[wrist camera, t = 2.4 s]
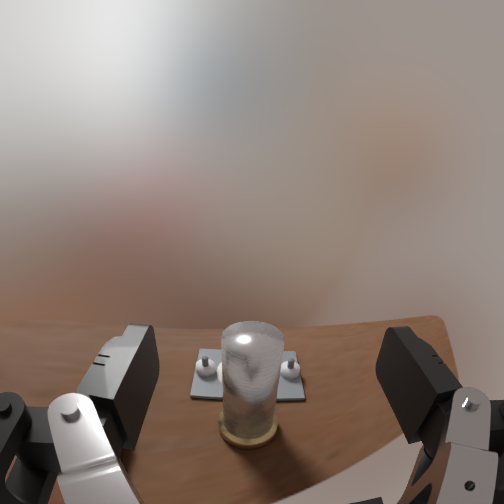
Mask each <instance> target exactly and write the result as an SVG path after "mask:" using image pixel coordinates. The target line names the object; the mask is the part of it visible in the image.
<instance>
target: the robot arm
mask: <svg viewBox="0 0 504 504" xmlns="http://www.w3.org/2000/svg"><path fill="white" fill-rule="evenodd" d="M158 376H159V358H158V352H157V346H156V340H155V334H154V329H153V327H152V326H151V325H141V324H129V326H128V327H127V329H126V330H125V332H124V334H123V335H122V337H117V336H115V337H114V338H113V339H111V340H110V341H108V342H107V343H106V344H104V346H103V348H102V349H101V351H100V352H99V354H98V356H97V357H96V359H95V360H94V362H93V364H92V365H91V366H90V368H89V370H88V371H87V373H86V375H85V376H84V378H83V379H82V381H81V383H80V384H79V386H78V388H77V389H76V391H75V393H69V394H65V395H62V396H60V397H58V398H56V399H55V400H54V401H53V402H52V403H51V404H50V406H49V407H27V406H26V405H25V403H24V401H23V399H22V398H21V397H20V396H19V395H18V394H16V393H13V392H4V393H1V394H0V504H48V501H49V498H50V495H51V492H52V489H53V486H54V484H55V481H56V478H57V479H58V483H59V487H60V490H61V493H62V496H63V498H64V501H65V504H144V502H143V500H142V499H141V497H140V495H139V493H138V492H137V490H136V488H135V487H134V485H133V483H132V481H131V479H130V477H129V476H128V474H127V472H126V470H125V468H124V466H123V464H122V462H121V460H120V458H119V456H120V453H121V451H122V448H124V449H129V450H134V449H135V446H136V443H137V440H138V437H139V434H140V430H141V427H142V424H143V421H144V418H145V415H146V412H147V409H148V406H149V403H150V400H151V397H152V394H153V391H154V389H155V386H156V383H157V380H158ZM376 376H377V379H378V381H379V383H380V385H381V387H382V389H383V391H384V393H385V395H386V397H387V399H388V401H389V403H390V405H391V407H392V409H393V411H394V413H395V416H396V418H397V420H398V422H399V424H400V426H401V428H402V431H403V433H404V435H405V437H406V439H407V441H408V444H411V443H415V442H419V441H422V443H423V446H422V448H421V449H420V451H419V454H418V457H417V460H416V463H415V466H414V469H413V472H412V474H411V477H410V479H409V482H408V484H407V487H406V490H405V491H404V494H403V495H402V497H401V499H400V500H399V501H398V503H397V504H504V400H489V399H488V397H487V396H486V395H485V394H484V393H483V392H481V391H480V390H478V389H475V388H471V387H464V388H463V387H462V385H461V384H460V383H459V381H458V380H457V379H456V377H455V376H454V375H453V373H452V372H451V371H450V369H449V368H448V367H447V366H446V364H443V360H442V359H441V358H440V357H439V356H438V354H437V353H436V351H435V350H434V349H433V348H432V346H431V345H429V344H428V343H426V342H425V341H423V340H422V339H420V338H418V337H417V336H416V335H415V333H414V332H413V331H412V330H411V328H410V327H408V326H402V327H390V328H388V329H387V330H386V332H385V335H384V339H383V342H382V346H381V349H380V352H379V355H378V359H377V362H376ZM15 455H16V456H17V459H16V461H15V463H14V465H13V467H12V470H11V472H10V474H9V476H8V479H7V481H6V483H5V476H6V473H7V471H8V469H9V467H10V465H11V463H12V460H13V458H14V456H15ZM58 473H60V474H58ZM350 504H383V501H382V498H381V497H378V498H375V499H370V500H366V501H361V502H356V503H350Z"/></svg>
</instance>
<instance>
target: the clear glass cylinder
mask: <svg viewBox="0 0 504 504" xmlns="http://www.w3.org/2000/svg"><path fill="white" fill-rule="evenodd" d="M283 347H284V336H283V334H282V332H281V331H280V330H279V329H278V328H276V327H274V326H273V325H270V324H268V323H264V322H259V321H243V322H238V323H235V324H232V325H231V326H229V327H227V328H226V329H225V330H224V331H223V333H222V390H223V410H222V411H221V413H220V415H219V419H218V423H219V432H220V435H221V436H222V438H223V439H224V440H225V441H226V442H227V443H228V444H230V445H232V446H234V447H236V448H240V449H257V448H261V447H263V446H265V445H267V444H268V443H270V442H271V441H272V440H273V438H274V437H275V435H276V431H277V425H278V419H277V416H276V414H275V406H276V399H277V392H278V385H279V378H280V370H281V363H282V355H283Z"/></svg>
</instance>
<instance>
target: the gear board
mask: <svg viewBox="0 0 504 504" xmlns="http://www.w3.org/2000/svg"><path fill="white" fill-rule="evenodd" d="M299 371H300V366H299V364H298V362H297V357H296V353H295V351H283V355H282V363H281V370H280V378H279V385H278V392H277V399H276V401H290V400H305V396H304V391H303V386H302V381H301V376H300V372H299ZM190 397H192V398H204V399H220V400H223V390H222V350H214V349H200V351H199V355H198V360H197V362H196V370H195V374H194V379H193V384H192V389H191V394H190Z"/></svg>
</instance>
